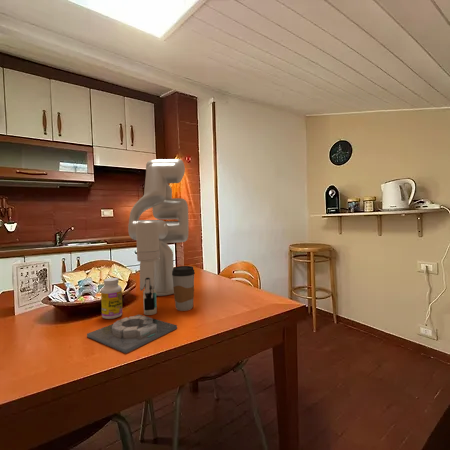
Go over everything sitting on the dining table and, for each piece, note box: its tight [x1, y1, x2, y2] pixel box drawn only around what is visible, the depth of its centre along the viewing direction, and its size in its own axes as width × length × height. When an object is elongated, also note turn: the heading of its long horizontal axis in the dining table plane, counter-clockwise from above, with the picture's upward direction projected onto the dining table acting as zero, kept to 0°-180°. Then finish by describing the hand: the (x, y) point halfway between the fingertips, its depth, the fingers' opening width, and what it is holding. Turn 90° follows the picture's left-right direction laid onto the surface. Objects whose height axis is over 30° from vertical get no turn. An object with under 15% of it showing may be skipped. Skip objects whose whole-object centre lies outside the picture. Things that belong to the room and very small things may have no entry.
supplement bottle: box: [100, 277, 123, 320], centre depth 97 cm, size 7×7×13 cm
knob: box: [142, 289, 158, 316], centre depth 99 cm, size 5×4×8 cm
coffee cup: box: [172, 265, 195, 312], centre depth 103 cm, size 8×8×15 cm
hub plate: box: [86, 314, 178, 354], centre depth 83 cm, size 18×18×3 cm
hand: (150, 306), depth 99 cm, fingers closed on knob, 4 cm apart
